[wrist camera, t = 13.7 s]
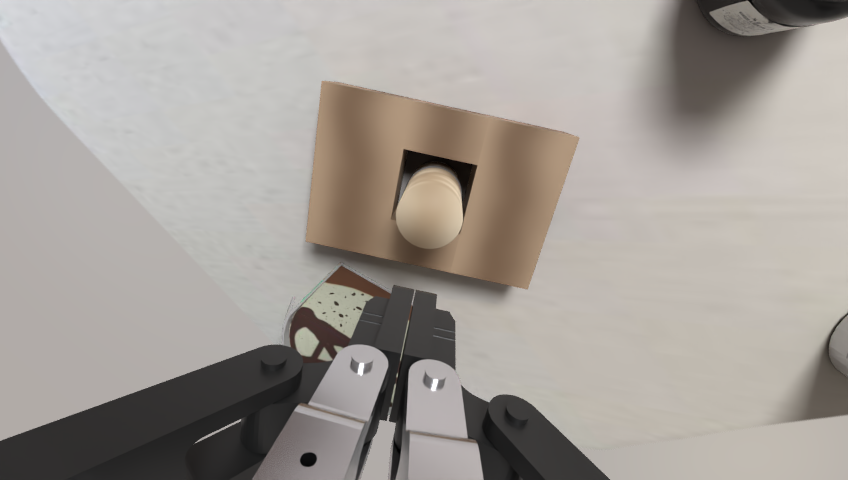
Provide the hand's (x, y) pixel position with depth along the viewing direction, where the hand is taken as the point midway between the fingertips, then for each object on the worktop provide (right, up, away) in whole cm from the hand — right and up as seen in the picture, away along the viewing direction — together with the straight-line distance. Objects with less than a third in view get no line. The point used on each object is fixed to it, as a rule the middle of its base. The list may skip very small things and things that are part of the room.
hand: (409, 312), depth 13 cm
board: (+1, +7, +19) cm, 21 cm away
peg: (+1, +7, +19) cm, 21 cm away
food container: (-5, -4, +24) cm, 25 cm away
